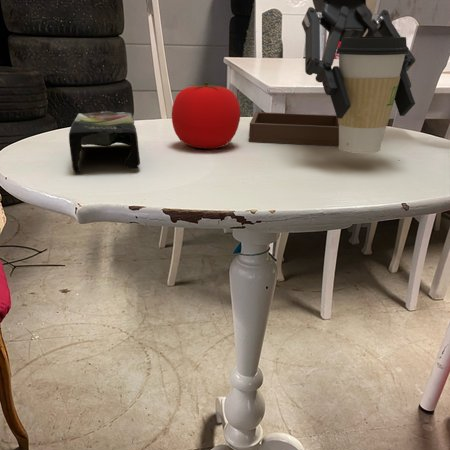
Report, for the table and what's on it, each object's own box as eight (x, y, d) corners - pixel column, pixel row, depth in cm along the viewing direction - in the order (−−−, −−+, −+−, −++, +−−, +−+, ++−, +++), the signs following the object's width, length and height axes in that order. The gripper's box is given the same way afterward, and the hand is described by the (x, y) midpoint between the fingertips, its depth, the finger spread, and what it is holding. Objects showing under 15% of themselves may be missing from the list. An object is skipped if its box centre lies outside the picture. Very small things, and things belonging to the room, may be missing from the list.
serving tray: (337, 131, 99) (339, 115, 97) (343, 146, 86) (346, 127, 85) (254, 128, 100) (255, 111, 99) (248, 141, 88) (249, 123, 86)
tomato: (171, 153, 78) (168, 85, 73) (174, 139, 88) (172, 78, 83) (242, 154, 79) (244, 86, 74) (237, 140, 89) (238, 79, 84)
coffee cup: (404, 147, 72) (424, 36, 65) (371, 159, 66) (389, 38, 59) (348, 138, 78) (361, 36, 71) (314, 148, 72) (323, 38, 65)
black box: (78, 144, 82) (73, 107, 79) (134, 143, 84) (132, 107, 81) (70, 176, 65) (64, 130, 62) (141, 174, 67) (139, 130, 64)
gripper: (384, 9, 78) (425, 124, 73) (260, 5, 72) (295, 130, 67) (411, -33, 71) (458, 91, 66) (276, -41, 65) (316, 94, 60)
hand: (376, 111), depth 67 cm, fingers closed on coffee cup, 10 cm apart
